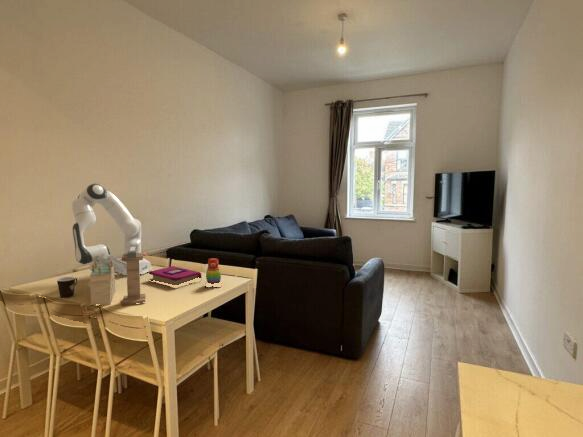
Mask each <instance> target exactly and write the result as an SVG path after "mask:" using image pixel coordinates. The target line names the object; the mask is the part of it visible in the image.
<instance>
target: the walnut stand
mask: <svg viewBox="0 0 583 437" xmlns="http://www.w3.org/2000/svg"><path fill="white" fill-rule="evenodd" d="M143 253H144V252H141V253H137V256H136V258H128V255H127V254H124V253H123V254H122V256H121V261H123V262H124V261H126V265H127V276H126V284H127V286H126V287H127V291H126V292H127V295H123V297H122V302H121V305H122V307H125V305H128V306H130V305H129V304H136V303H143V302H145V303H146V293H141V275H140V268H139V260H143V257H144V256H143Z"/></svg>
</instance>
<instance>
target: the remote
mask: <svg viewBox="0 0 583 437" xmlns="http://www.w3.org/2000/svg"><path fill="white" fill-rule="evenodd" d="M137 252H138V245H130V247H129V250H128V252H127V255H128V258H136V256H137Z"/></svg>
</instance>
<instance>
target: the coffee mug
mask: <svg viewBox="0 0 583 437" xmlns="http://www.w3.org/2000/svg"><path fill="white" fill-rule="evenodd" d="M56 282H57V287H58V291H59V296H60V298H61V299H67V298H72V297H74V295H75V287H76V285H77V283H78V278H76V277H74V276H67V277H65V276H64V277H60V278H58V279H57V280H56Z"/></svg>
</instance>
